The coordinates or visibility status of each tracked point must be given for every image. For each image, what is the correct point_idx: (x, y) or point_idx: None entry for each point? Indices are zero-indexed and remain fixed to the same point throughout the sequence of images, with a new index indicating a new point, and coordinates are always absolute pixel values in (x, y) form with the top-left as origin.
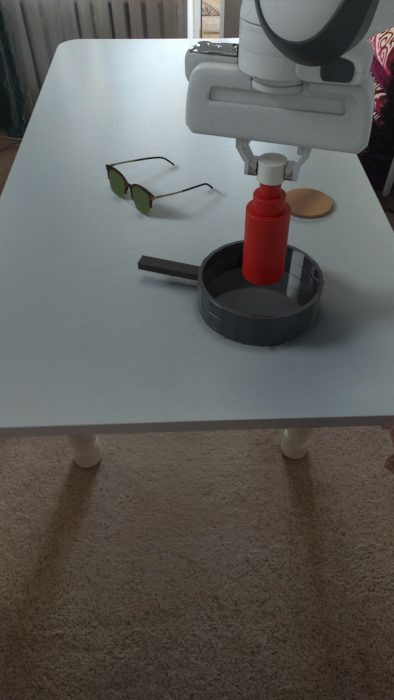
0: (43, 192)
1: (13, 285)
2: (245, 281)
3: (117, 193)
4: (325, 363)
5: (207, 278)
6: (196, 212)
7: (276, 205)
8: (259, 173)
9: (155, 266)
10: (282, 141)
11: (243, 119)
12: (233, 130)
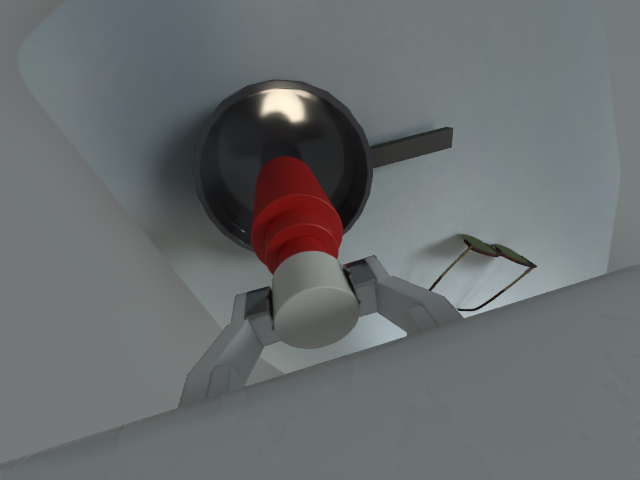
0: (579, 208)
1: (591, 22)
2: None
3: (502, 246)
4: (146, 110)
5: (357, 167)
6: (413, 265)
7: (271, 234)
8: (334, 267)
9: (427, 134)
10: (277, 389)
11: (522, 420)
12: (512, 339)
